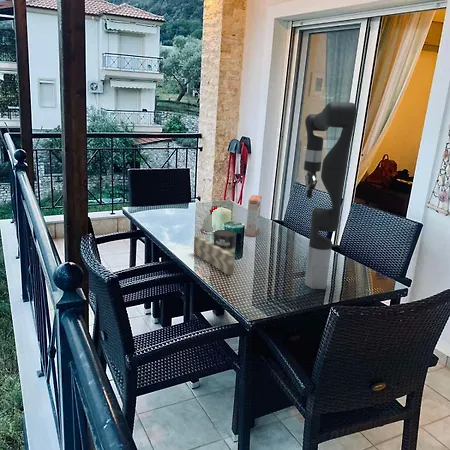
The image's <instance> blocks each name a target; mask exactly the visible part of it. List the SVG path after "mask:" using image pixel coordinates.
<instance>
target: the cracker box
mask: <svg viewBox="0 0 450 450" xmlns="http://www.w3.org/2000/svg"><path fill="white" fill-rule="evenodd" d="M247 204H248V205H247V215H246V226H245V228H246V229H245V236H249V237H256V236H257V234H258V233H259V230H260V229H259V226H260V217H261V208H262V207H261V206H262V195H256V194H252V195H251V196H250V198H249V199H248V203H247Z"/></svg>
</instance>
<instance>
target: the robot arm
mask: <svg viewBox="0 0 450 450" xmlns="http://www.w3.org/2000/svg"><path fill="white" fill-rule="evenodd" d="M356 119H357V105H356V104H355V103H354V102H348V101H346V102H345V101H331V102H329V103H327V104H326V105H325V106H324V108H323V109H322V111H321V112H318V113H317V114H315V113H311V114H308V115H306V118H305V120H304V121H305V122H304V124H305V125H304V126H305V131H306V136H307V137H306V150H305V154H304V162H303V163H304V164H303V170H304V171H306V172H307V173H306V175H304V178H305V179H304V181H305V188H306V196H305V197H306V198H307V199H312V197H313V191H314V190H315V189H316V186H317V184H318V180H317V178H318V177H317V172H320V178H321V181H322V183H323V185H324V186H323V187H325V190H326V191H327V194H328V195H329V198H330V201H331V208H325V207H324V208H323V207H315V208H314V209H313V210H312V212H311V218H310V233H309V234H310V235H309V242H308V243H309V244H308V249H307V257H306V258H307V260H306V267H305V276H304V277H305V278H304V285H305V286H306V287H309V288H310V289H311V290H326V289H327V286H328V285H327V284H328V279H329V278H328V277H329V272H330V271H329V270H330V262H331V254H332V247H333V241H332V240H331V239H330V238H327V236H323V235H322V234H321V233H319V232H327V233H328V232H332V233H333V232H334V233H335V232H337V229H338V228H339V224H340V214H341V205H342V203H341V202H342V194H343V189H344V186H345V185H344V184H345V180H346V173H347V167H348V157H349V152H350V151H349V150H350V144H351V140H352V136H353V132H354V128H355V124H356ZM329 128H339V129H340V128H341V133H340V135H339V138H338V140H337V141H336V142H335V144H334V145H333V147H331V149H330V150H329V151H328V152H327V154H326V155H325V157H324V158H323V148H324V147H323V146H324V138H323V137H321V136H320V135H319V136H318V135H315V133H314V132H326V131H328V130H329Z"/></svg>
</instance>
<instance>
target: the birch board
mask: <svg viewBox="0 0 450 450" xmlns="http://www.w3.org/2000/svg"><path fill="white" fill-rule="evenodd" d="M194 253H195V254H196V255H198V256H199V257H201V258H203V259H204V260H206V261H207V262H209V263H210V264H209V263H208V264H209V265H211V264H212V265H213V266H212V265H211V266H212V267H214V266H215V267H216V268H215V267H214V268H215V269H217V268H218V269H217V270H219V271H220V270H221V272H222V273H223V272H224V274H225V275H227V276H233V275H234V267H235V266H234V265H235V256H234V255H233V254H231V253H230V252H228V251H226V250H224V249H222V248H220V247H219V246H217V245H215V244H214V242H211V241H209V240H208V239H205V238H204V237H202V236H200V235H194V238H193V254H194ZM195 254H194V255H195ZM196 255H195V256H196ZM198 256H197V257H198ZM199 257H198V258H199ZM201 258H200V259H201ZM203 259H202V260H203ZM204 260H203V261H204ZM206 261H205V262H206ZM207 262H206V263H207Z"/></svg>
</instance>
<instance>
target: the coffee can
mask: <svg viewBox="0 0 450 450" xmlns="http://www.w3.org/2000/svg"><path fill="white" fill-rule="evenodd" d="M236 239H237V232H235V231H234V230H229V229H226V230H217V231H215V232H214V235H213V244H215V245H217V246H219V247H220V248H222V249H224V250H226V251H228V252H230V253H231V254H233V255H234V257H235V256H236V255H235V254H236V241H237V240H236Z"/></svg>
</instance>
